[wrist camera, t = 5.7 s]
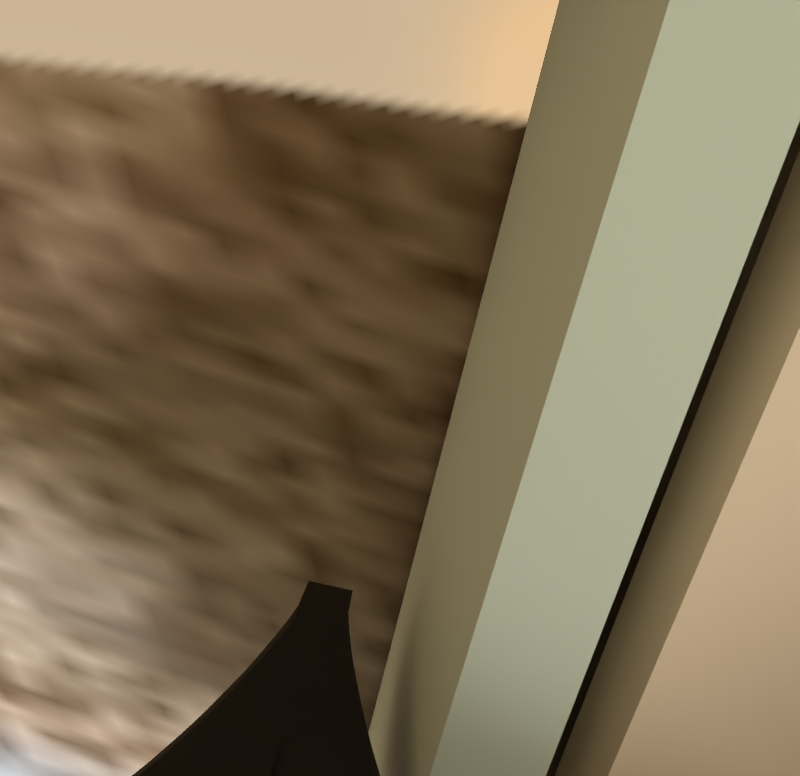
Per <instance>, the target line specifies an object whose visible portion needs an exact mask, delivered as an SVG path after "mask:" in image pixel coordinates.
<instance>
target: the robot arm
mask: <svg viewBox="0 0 800 776" xmlns="http://www.w3.org/2000/svg"><path fill="white" fill-rule="evenodd" d="M351 596H352V591H351V590H347V589H342V588H338V587H333V586H329V585H324V584H320V583H315V582H311V581H309V582H308V584H307V587H306V589H305V591H304V594H303V596H302V598H301V601H300V603H299V606H298V607H297V609H296V610H295V611H294V613H293V614H292V615H291V617H290V618H289V619H288V621H287V622H286V623H285V625H284V626H283V627H282V628H281V630H280V631H279V632H278V634H277V635H276V636H275V637H274V638H273V640H272V641H271V642H270V643H269V644H268V645H267V647H266V648H265V649H264V650H263V651H262V652H261V653H260V655H259V656H258V657H257V658H256V659H255V660H254V662H253V663H252V664H251V665H250V666H249V667H248V668H247V669H246V671H245V672H244V673H243V674H242V675H241V676H240V677H239V678H238V679H237V680H236V681H235V682H234V683H233V684H232V685H231V686H230V687H229V688H228V689H227V690H226V691H225V692H224V693H223V694H222V695H221V696H220V697H219V698H218V699H217V700H216V701H215V702H214V703H213V704H212V705H211V706H210V707H209V708H208V709H207V710H206V711H205V712H204V713H203V714H202V715H201V716H200V717H199V718H198V719H197V720H196V721H195V722H194V723H193V724H192V725H190V726H189V727H188V728H187V729H186V730H185V731H184V732H183V733H182V734H181V735H180V736H178V737H177V738H176V739H175V740H174V741H173V742H172V743H170V744H169V745H168V746H167V747H166V748H165V749H164V750H162V751H161V752H160V753H159V754H158V755H157V756H156V757H154V758H153V759H152V760H151V761H150V762H149V763H147V764H146V765H145V766H144V767H142V768H141V769H140V770H139V771H137V772H136V773H135V774H134V775H132V776H380V773H379V770H378V767H377V763H376V760H375V756H374V753H373V749H372V746H371V742H370V738H369V734H368V730H367V727H366V723H365V719H364V714H363V710H362V706H361V701H360V697H359V691H358V686H357V681H356V676H355V670H354V665H353V659H352V652H351V644H350V634H349V621H348V611H349V606H350V601H351Z"/></svg>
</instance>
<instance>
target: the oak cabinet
mask: <svg viewBox="0 0 800 776" xmlns="http://www.w3.org/2000/svg"><path fill="white" fill-rule="evenodd" d="M546 776H800V121H799V124H798V127H797V129H796V132H795V134H794V137H793V139H792V142H791V145H790V147H789V150H788V152H787V155H786V157H785V160H784V163H783V165H782V168H781V170H780V173H779V176H778V178H777V181H776V183H775V186H774V188H773V191H772V194H771V196H770V199H769V201H768V204H767V207H766V209H765V212H764V214H763V217H762V219H761V222H760V225H759V227H758V230H757V232H756V235H755V237H754V240H753V243H752V245H751V248H750V250H749V253H748V256H747V258H746V261H745V263H744V266H743V268H742V271H741V274H740V276H739V279H738V281H737V284H736V287H735V289H734V292H733V294H732V297H731V299H730V302H729V305H728V307H727V310H726V312H725V315H724V318H723V320H722V323H721V325H720V328H719V330H718V333H717V336H716V338H715V341H714V343H713V346H712V348H711V351H710V354H709V356H708V359H707V361H706V364H705V367H704V369H703V372H702V374H701V377H700V379H699V382H698V385H697V387H696V390H695V392H694V395H693V398H692V400H691V403H690V405H689V408H688V410H687V413H686V416H685V418H684V421H683V423H682V426H681V428H680V431H679V434H678V436H677V439H676V441H675V444H674V447H673V449H672V452H671V454H670V457H669V459H668V462H667V465H666V467H665V470H664V472H663V475H662V478H661V480H660V483H659V485H658V488H657V490H656V493H655V496H654V498H653V501H652V503H651V506H650V508H649V511H648V514H647V516H646V519H645V521H644V524H643V527H642V529H641V532H640V534H639V537H638V539H637V542H636V545H635V547H634V550H633V552H632V555H631V558H630V560H629V563H628V565H627V568H626V570H625V573H624V576H623V578H622V581H621V583H620V586H619V589H618V591H617V594H616V596H615V599H614V601H613V604H612V607H611V609H610V612H609V614H608V617H607V619H606V622H605V625H604V627H603V630H602V632H601V635H600V638H599V640H598V643H597V645H596V648H595V650H594V653H593V656H592V658H591V661H590V663H589V666H588V669H587V671H586V674H585V676H584V679H583V681H582V684H581V687H580V689H579V692H578V694H577V697H576V699H575V702H574V705H573V707H572V710H571V712H570V715H569V718H568V720H567V723H566V725H565V728H564V730H563V733H562V736H561V738H560V741H559V743H558V746H557V749H556V751H555V754H554V756H553V759H552V761H551V764H550V767H549V769H548V772H547V774H546Z"/></svg>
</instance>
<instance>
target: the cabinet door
mask: <svg viewBox="0 0 800 776" xmlns="http://www.w3.org/2000/svg"><path fill="white" fill-rule="evenodd" d="M799 121H800V0H560V1H559V4H558V8H557V13H556V16H555V20H554V24H553V27H552V31H551V35H550V39H549V43H548V47H547V50H546V54H545V58H544V62H543V66H542V70H541V73H540V77H539V81H538V85H537V89H536V93H535V96H534V101H533V104H532V108H531V112H530V116H529V119H528V123H527V127H526V131H525V135H524V139H523V142H522V146H521V150H520V154H519V158H518V161H517V165H516V169H515V173H514V177H513V181H512V184H511V188H510V192H509V196H508V200H507V204H506V207H505V211H504V215H503V219H502V223H501V227H500V230H499V234H498V238H497V242H496V246H495V250H494V253H493V257H492V261H491V265H490V269H489V273H488V276H487V280H486V284H485V288H484V292H483V296H482V299H481V303H480V307H479V311H478V315H477V318H476V322H475V326H474V330H473V334H472V338H471V341H470V345H469V349H468V353H467V357H466V361H465V364H464V368H463V372H462V376H461V380H460V384H459V387H458V391H457V395H456V399H455V403H454V407H453V410H452V414H451V418H450V422H449V426H448V430H447V433H446V437H445V441H444V445H443V449H442V453H441V456H440V460H439V464H438V468H437V472H436V475H435V479H434V483H433V487H432V491H431V495H430V498H429V502H428V506H427V510H426V514H425V518H424V521H423V525H422V529H421V533H420V537H419V541H418V544H417V548H416V552H415V556H414V560H413V564H412V567H411V571H410V575H409V579H408V583H407V587H406V590H405V594H404V598H403V602H402V606H401V610H400V613H399V617H398V621H397V625H396V629H395V632H394V636H393V640H392V644H391V648H390V652H389V655H388V659H387V663H386V667H385V671H384V675H383V678H382V682H381V686H380V690H379V694H378V698H377V701H376V705H375V709H374V713H373V717H372V721H371V724H370V728H369V732H368V734H369V738H370V742H371V746H372V749H373V753H374V756H375V760H376V763H377V767H378V770H379V773H380V776H546V774H547V772H548V769H549V767H550V764H551V761H552V759H553V756H554V754H555V751H556V749H557V746H558V743H559V741H560V738H561V736H562V733H563V730H564V728H565V725H566V723H567V720H568V718H569V715H570V712H571V710H572V707H573V705H574V702H575V699H576V697H577V694H578V692H579V689H580V687H581V684H582V681H583V679H584V676H585V674H586V671H587V669H588V666H589V663H590V661H591V658H592V656H593V653H594V650H595V648H596V645H597V643H598V640H599V638H600V635H601V632H602V630H603V627H604V625H605V622H606V619H607V617H608V614H609V612H610V609H611V607H612V604H613V601H614V599H615V596H616V594H617V591H618V589H619V586H620V583H621V581H622V578H623V576H624V573H625V570H626V568H627V565H628V563H629V560H630V558H631V555H632V552H633V550H634V547H635V545H636V542H637V539H638V537H639V534H640V532H641V529H642V527H643V524H644V521H645V519H646V516H647V514H648V511H649V508H650V506H651V503H652V501H653V498H654V496H655V493H656V490H657V488H658V485H659V483H660V480H661V478H662V475H663V472H664V470H665V467H666V465H667V462H668V459H669V457H670V454H671V452H672V449H673V447H674V444H675V441H676V439H677V436H678V434H679V431H680V428H681V426H682V423H683V421H684V418H685V416H686V413H687V410H688V408H689V405H690V403H691V400H692V398H693V395H694V392H695V390H696V387H697V385H698V382H699V379H700V377H701V374H702V372H703V369H704V367H705V364H706V361H707V359H708V356H709V354H710V351H711V348H712V346H713V343H714V341H715V338H716V336H717V333H718V330H719V328H720V325H721V323H722V320H723V318H724V315H725V312H726V310H727V307H728V305H729V302H730V299H731V297H732V294H733V292H734V289H735V287H736V284H737V281H738V279H739V276H740V274H741V271H742V268H743V266H744V263H745V261H746V258H747V256H748V253H749V250H750V248H751V245H752V243H753V240H754V237H755V235H756V232H757V230H758V227H759V225H760V222H761V219H762V217H763V214H764V212H765V209H766V207H767V204H768V201H769V199H770V196H771V194H772V191H773V188H774V186H775V183H776V181H777V178H778V176H779V173H780V170H781V168H782V165H783V163H784V160H785V157H786V155H787V152H788V150H789V147H790V145H791V142H792V139H793V137H794V134H795V132H796V129H797V127H798V124H799Z"/></svg>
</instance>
